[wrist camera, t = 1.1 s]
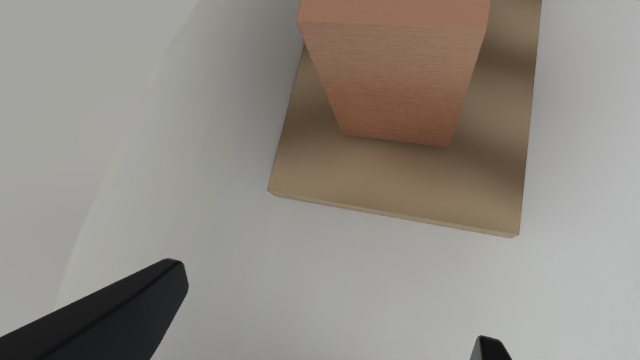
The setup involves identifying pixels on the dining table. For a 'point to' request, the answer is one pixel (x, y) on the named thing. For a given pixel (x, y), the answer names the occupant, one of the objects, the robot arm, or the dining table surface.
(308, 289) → the dining table surface
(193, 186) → the dining table surface
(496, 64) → the bearing base
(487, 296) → the dining table surface
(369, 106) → the shaft
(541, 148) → the dining table surface
